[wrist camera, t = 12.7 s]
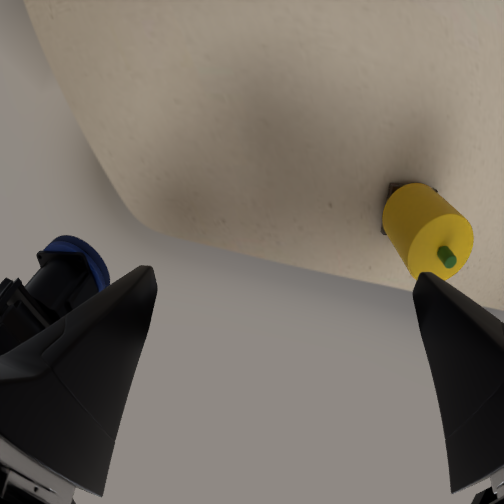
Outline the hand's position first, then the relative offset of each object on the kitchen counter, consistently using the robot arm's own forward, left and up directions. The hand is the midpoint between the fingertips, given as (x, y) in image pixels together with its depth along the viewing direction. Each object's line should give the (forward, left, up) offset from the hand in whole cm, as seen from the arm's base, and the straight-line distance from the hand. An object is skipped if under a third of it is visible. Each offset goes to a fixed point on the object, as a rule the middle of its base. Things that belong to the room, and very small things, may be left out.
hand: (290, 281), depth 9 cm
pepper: (+10, -2, -11) cm, 15 cm away
